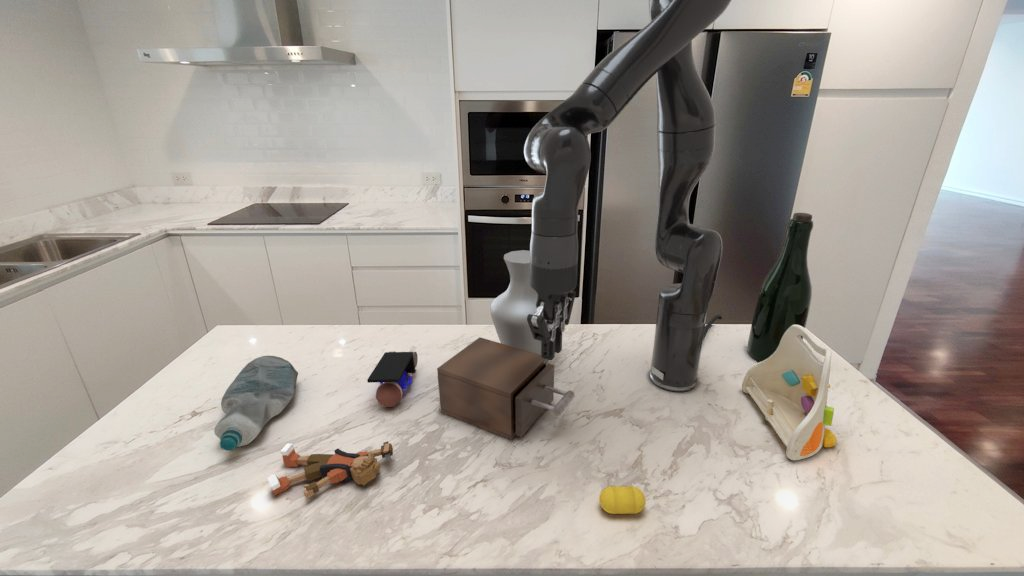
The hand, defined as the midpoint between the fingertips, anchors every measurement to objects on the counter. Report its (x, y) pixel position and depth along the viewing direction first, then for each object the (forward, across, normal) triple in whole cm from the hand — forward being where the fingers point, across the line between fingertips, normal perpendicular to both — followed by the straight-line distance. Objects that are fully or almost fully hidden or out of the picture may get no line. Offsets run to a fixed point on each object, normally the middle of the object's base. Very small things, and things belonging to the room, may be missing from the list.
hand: (551, 354), depth 82 cm
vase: (+15, +18, +16) cm, 28 cm away
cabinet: (+15, 0, +12) cm, 19 cm away
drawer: (+14, 0, +7) cm, 16 cm away
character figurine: (+15, -28, +24) cm, 41 cm away
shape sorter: (+15, +22, -38) cm, 46 cm away
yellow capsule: (+15, -12, -18) cm, 26 cm away
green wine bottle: (+15, +48, -32) cm, 60 cm away
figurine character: (+15, -6, +32) cm, 36 cm away
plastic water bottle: (+15, -26, +50) cm, 58 cm away
